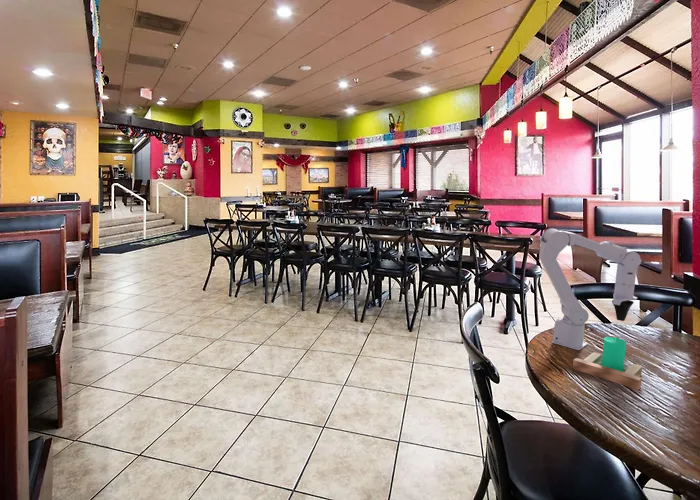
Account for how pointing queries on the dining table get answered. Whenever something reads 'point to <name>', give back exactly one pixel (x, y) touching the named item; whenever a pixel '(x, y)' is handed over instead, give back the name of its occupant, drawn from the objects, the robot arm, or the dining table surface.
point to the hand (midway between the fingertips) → (620, 320)
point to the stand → (609, 371)
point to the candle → (614, 353)
